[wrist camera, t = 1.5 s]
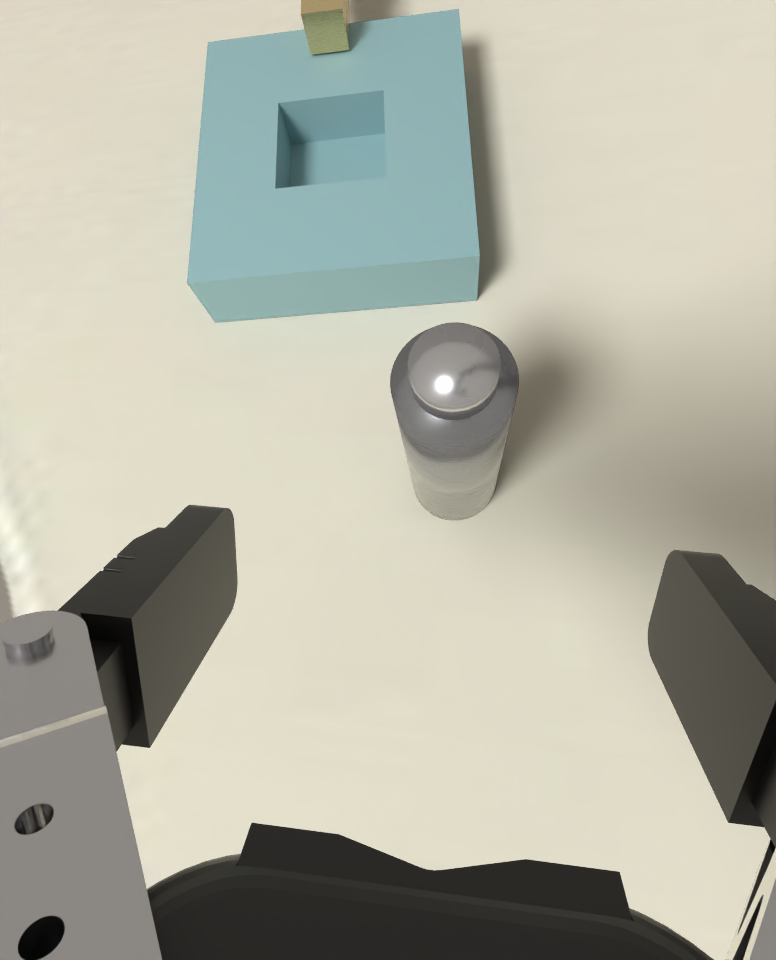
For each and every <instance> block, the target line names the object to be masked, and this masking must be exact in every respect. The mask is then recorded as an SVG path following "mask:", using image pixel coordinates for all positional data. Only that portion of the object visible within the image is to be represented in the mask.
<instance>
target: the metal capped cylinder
mask: <svg viewBox="0 0 776 960" xmlns="http://www.w3.org/2000/svg"><path fill="white" fill-rule="evenodd" d="M518 386H519V374H518V369H517V365H516V362H515V360H514V358H513V356H512V354H511V352H510V351H509V349H508V348H507V346H506V345H505V344H504V343H503V342H502V341H501V340H500V339H498V338H497V337H496V336H495V335H493V334H491V333H490V332H488V331H486V330H484V329H482V328H479V327H476V326H472V325H469V324H465V323H445V324H441V325H438V326H436V327H433V328H430V329H428V330H425V331H424V332H422V333H420V334H418V335H417V336H415V337H414V338H413V339H411V340H410V341H409V342H408V343H407V344H406V345H405V346H404V347H403V349H402V350H401V351H400V353H399V354H398V356H397V358H396V360H395V362H394V365H393V368H392V372H391V379H390V387H391V394H392V398H393V402H394V406H395V411H396V415H397V419H398V423H399V427H400V432H401V436H402V440H403V444H404V448H405V453H406V457H407V461H408V465H409V469H410V473H411V478H412V482H413V486H414V490H415V494H416V496H417V498H418V500H419V502H420V503H421V504H422V506H423V507H424V508H425V509H426V510H427V511H429V512H430V513H431V514H433V515H435V516H437V517H439V518H442V519H446V520H463V519H467V518H470V517H472V516H474V515H476V514H478V513H479V512H480V511H482V510H483V509H484V508H485V507H486V506H487V504H488V503H489V501H490V500H491V498H492V496H493V493H494V490H495V486H496V481H497V477H498V473H499V469H500V464H501V460H502V456H503V452H504V447H505V443H506V439H507V435H508V431H509V426H510V422H511V418H512V414H513V409H514V405H515V401H516V397H517V392H518Z"/></svg>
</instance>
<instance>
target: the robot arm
mask: <svg viewBox="0 0 776 960" xmlns="http://www.w3.org/2000/svg"><path fill="white" fill-rule="evenodd" d="M236 593H237V564H236V546H235V529H234V518H233V514H232V512H231V510H230V509H229V508H219V507H208V506H197V505H189V506H187V507H186V508H185V509H184V510H183V511H182V512H181V513H180V514H179V515H178V516H177V517H176V518H175V519H174V520H173V521H172V522H171V523H170V524H169V525H168V526H167V527H166V528H159V527H158V528H156V529H154V530H152V531H150V532H148V533H146V534H144V535H142V536H140V537H138V538H136V539H134V540H133V541H132V542H131V543H129V544H128V545H127V546H126V547H125V548H124V549H123V550H122V551H121V552H120V553H119V554H118V555H117V558H113V559H112V560H111V561H110V562H109V563H108V564H107V565H106V566H105V567H104V570H103V571H100V572H98V573H97V574H96V575H95V576H94V577H93V578H92V579H91V580H90V581H89V582H88V583H87V584H86V585H85V586H84V587H82V588H81V589H80V590H79V591H78V592H77V593H76V594H75V595H74V596H73V597H72V598H71V599H70V600H69V601H67V602H66V603H65V604H64V605H63V606H62V607H61V608H60V609H59V610H58V611H42V612H35V613H29V614H25V615H22V616H18V617H15V618H12V619H10V620H7V621H5V622H3V623H1V624H0V960H713V959H712V958H711V957H710V956H708V955H707V954H706V953H704V952H703V951H702V950H700V949H699V948H698V947H696V946H695V945H694V944H693V943H691V942H690V941H688V940H687V939H685V938H684V937H682V936H681V935H679V934H678V933H676V932H674V931H673V930H671V929H670V928H668V927H667V926H665V925H663V924H661V923H659V922H657V921H655V920H653V919H652V918H650V917H648V916H646V915H644V914H642V913H640V912H637V911H635V910H632V909H630V908H629V906H628V903H627V899H626V895H625V891H624V887H623V883H622V880H621V876H620V872H616V871H609V870H601V869H594V868H586V867H579V866H571V865H564V864H556V863H549V862H541V861H534V860H526V859H525V860H517V861H510V862H502V863H494V864H486V865H478V866H470V867H463V868H455V869H447V870H435V871H433V870H426V869H423V868H420V867H418V866H415V865H413V864H410V863H408V862H405V861H403V860H400V859H398V858H395V857H393V856H391V855H388V854H386V853H383V852H381V851H378V850H376V849H373V848H371V847H368V846H366V845H364V844H361V843H359V842H356V841H354V840H351V839H349V838H346V837H344V836H341V835H339V834H332V833H324V832H317V831H309V830H302V829H294V828H287V827H279V826H272V825H264V824H257V823H252V824H251V826H250V829H249V832H248V835H247V838H246V841H245V844H244V847H243V849H242V852H241V854H237V855H230V856H225V857H221V858H217V859H213V860H209V861H205V862H203V863H200V864H197V865H194V866H192V867H189V868H186V869H184V870H182V871H180V872H177V873H175V874H173V875H171V876H169V877H167V878H165V879H163V880H161V881H160V882H158V883H156V884H155V885H153V886H151V887H150V888H148V889H146V884H145V880H144V875H143V871H142V866H141V862H140V857H139V853H138V848H137V844H136V839H135V835H134V830H133V826H132V821H131V816H130V812H129V807H128V803H127V798H126V794H125V789H124V785H123V780H122V776H121V771H120V767H119V762H118V758H117V753H116V752H117V750H118V749H119V747H120V746H121V744H123V745H131V746H139V747H147V748H150V747H151V745H152V744H153V742H154V740H155V739H156V737H157V735H158V734H159V732H160V730H161V728H162V727H163V725H164V723H165V722H166V720H167V718H168V717H169V715H170V713H171V712H172V710H173V708H174V707H175V705H176V703H177V702H178V700H179V698H180V697H181V695H182V693H183V692H184V690H185V688H186V687H187V685H188V683H189V682H190V680H191V678H192V677H193V675H194V673H195V672H196V670H197V668H198V667H199V665H200V663H201V662H202V660H203V658H204V657H205V655H206V653H207V652H208V650H209V648H210V647H211V645H212V643H213V642H214V640H215V638H216V637H217V635H218V633H219V632H220V630H221V628H222V627H223V625H224V623H225V622H226V620H227V618H228V617H229V615H230V613H231V611H232V609H233V606H234V603H235V598H236ZM648 646H649V652H650V656H651V659H652V661H653V663H654V665H655V668H656V670H657V672H658V674H659V676H660V678H661V680H662V682H663V685H664V687H665V689H666V691H667V693H668V695H669V697H670V699H671V702H672V704H673V706H674V708H675V710H676V712H677V714H678V716H679V719H680V721H681V723H682V725H683V727H684V729H685V731H686V734H687V736H688V738H689V740H690V742H691V744H692V746H693V748H694V751H695V753H696V755H697V757H698V759H699V761H700V763H701V765H702V768H703V770H704V772H705V774H706V776H707V778H708V780H709V782H710V785H711V787H712V789H713V791H714V793H715V795H716V797H717V800H718V802H719V804H720V806H721V808H722V810H723V812H724V814H725V817H726V819H727V821H728V823H735V824H743V825H751V826H759V827H765V829H766V831H767V833H768V835H769V837H770V841H769V843H768V845H767V847H766V850H765V852H764V854H763V857H762V860H761V862H760V865H759V868H758V871H757V874H756V876H755V879H754V882H753V885H752V887H751V890H750V893H749V896H748V899H747V901H746V904H745V907H744V910H743V913H742V915H741V918H740V921H739V924H738V927H737V929H736V932H735V935H734V938H733V940H732V943H731V946H730V949H729V952H728V954H727V957H726V960H776V601H775V600H774V599H772V598H771V597H769V596H768V595H766V594H765V593H763V592H762V591H760V590H759V589H757V588H756V587H754V586H753V585H749V584H746V583H745V582H744V581H743V580H742V578H741V577H740V576H739V575H738V574H737V572H736V571H735V570H734V569H733V568H732V567H731V565H730V564H729V563H728V562H727V561H726V559H725V558H724V557H723V556H722V555H720V554H713V553H702V552H691V551H680V550H674V551H672V552H671V553H670V554H669V555H668V557H667V559H666V562H665V565H664V569H663V573H662V577H661V581H660V584H659V588H658V592H657V596H656V599H655V603H654V607H653V611H652V615H651V618H650V622H649V628H648Z"/></svg>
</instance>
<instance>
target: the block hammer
mask: <svg viewBox="0 0 776 960" xmlns="http://www.w3.org/2000/svg"><path fill="white" fill-rule="evenodd" d="M301 16H302V20H303V24H304V29H305V33H306V37H307V41H308V45H309V50H310V54H311V55H314V54H321V53H329V52H337V51H345V50H349V0H301Z"/></svg>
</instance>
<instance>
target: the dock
mask: <svg viewBox="0 0 776 960" xmlns="http://www.w3.org/2000/svg"><path fill="white" fill-rule="evenodd" d="M479 262H480V251H479V240H478V228H477V216H476V205H475V193H474V181H473V169H472V158H471V146H470V134H469V123H468V111H467V99H466V87H465V76H464V64H463V52H462V41H461V29H460V17H459V9H455V10H447V11H440V12H432V13H425V14H417V15H410V16H402V17H395V18H387V19H380V20H372V21H364V22H357V23H349V50H345V51H337V52H329V53H321V54H314V55H311V54H310V50H309V45H308V41H307V37H306V33H305V29H304V30H297V31H289V32H282V33H274V34H267V35H259V36H251V37H244V38H236V39H229V40H221V41H214V42H208V47H207V58H206V70H205V82H204V93H203V105H202V116H201V128H200V140H199V151H198V163H197V174H196V186H195V197H194V209H193V221H192V232H191V244H190V255H189V267H188V279H187V284H188V285H189V286H190V288H191V289H192V291H193V292H194V293H195V295H196V296H197V298H198V299H199V300H200V302H201V303H202V305H203V306H204V307H205V309H206V310H207V312H208V313H209V314H210V316H211V317H212V319H213V320H214V321H215V322H227V321H239V320H250V319H262V318H274V317H286V316H297V315H309V314H321V313H332V312H344V311H356V310H368V309H379V308H391V307H403V306H415V305H426V304H438V303H450V302H462V301H473V300H477V294H478V278H479Z"/></svg>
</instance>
